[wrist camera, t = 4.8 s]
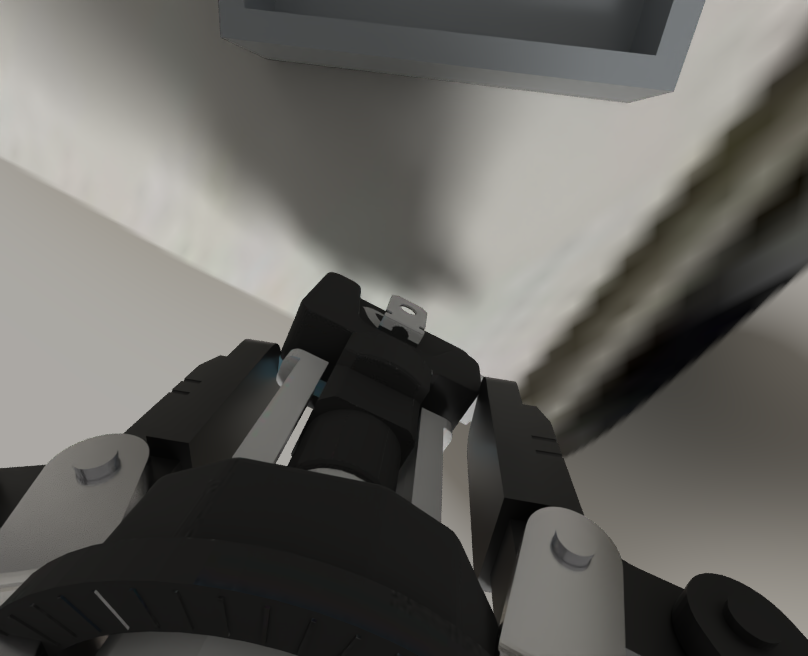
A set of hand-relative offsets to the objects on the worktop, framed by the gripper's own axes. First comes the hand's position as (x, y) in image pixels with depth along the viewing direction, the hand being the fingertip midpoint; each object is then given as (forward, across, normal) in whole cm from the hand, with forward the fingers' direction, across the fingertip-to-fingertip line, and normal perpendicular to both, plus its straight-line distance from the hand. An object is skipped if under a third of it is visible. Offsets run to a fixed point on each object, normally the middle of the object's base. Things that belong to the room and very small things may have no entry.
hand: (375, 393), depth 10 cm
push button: (+3, 0, 0) cm, 3 cm away
